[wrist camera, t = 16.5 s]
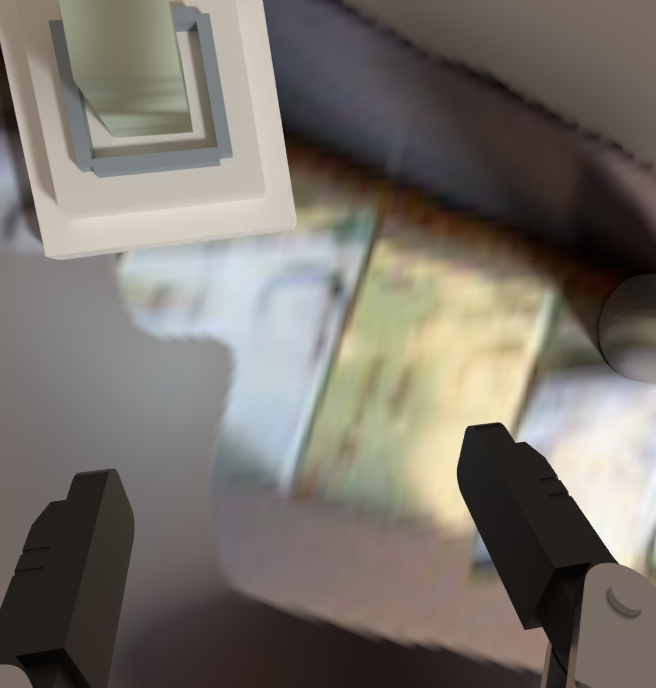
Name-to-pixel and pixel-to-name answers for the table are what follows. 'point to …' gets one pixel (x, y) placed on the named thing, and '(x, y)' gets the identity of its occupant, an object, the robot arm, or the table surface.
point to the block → (128, 64)
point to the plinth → (160, 222)
